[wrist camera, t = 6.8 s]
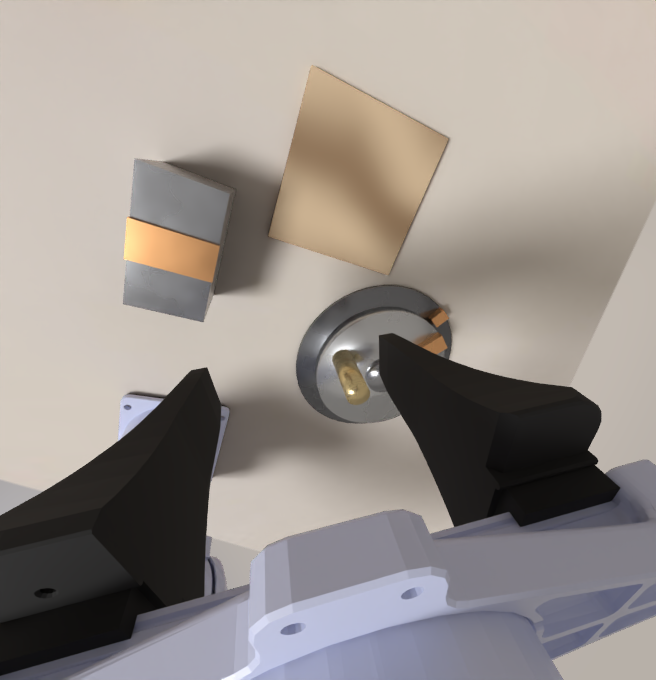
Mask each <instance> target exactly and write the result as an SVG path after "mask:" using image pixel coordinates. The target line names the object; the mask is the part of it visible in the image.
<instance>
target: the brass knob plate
mask: <svg viewBox="0 0 656 680" xmlns="http://www.w3.org/2000/svg"><path fill="white" fill-rule="evenodd" d="M389 333H394V334H396V335H398V336H401V337H402V338H404V339H406V340H408V341H410V342H412V343H414V344H416V345H418V346H420V347H422V348H424V349H426V350H428V351H430V352H432V353H435V354H437V355H439V356H441V357H444V350H445V349H447V345H446V343H445V341H444V339H443V336H442V335H441V334H440V333H439V332H437V331H436V330H435V328H434V327H433V326H432V325H431V324H429V323H428V322H427V321H426V320H425V319H424V318H423V317H421V316H420V315H418V314H417V313H415V312H413V311H411V310H408V309H405V308H401V307H392V306H389V307H377V308H372V309H369V310H365V311H363V312H360V313H358V314H356V315H354V316H352V317H350V318H348V319H347V320H345V321H344V322H343V323H341V324H340V325H339V326H338V327H337V328H336V329H334V330H333V331H332V333H331V334H330V335H329V336H328V337H327V339H326V340H325V342H324V343H323V345H322V347H321V349H320V351H319V353H318V356H317V359H316V364H315V379H316V383H317V387H318V391H319V394H320V397H321V399H322V401H323V402H324V404H325V405H326V407H327V408H328V409H329V410H330V411H331V412H333V413H334V414H336V415H337V416H339V417H341V418H343V419H346V420H349V421H353V422H358V423H374V422H381V421H386V420H389V419H392V418H395V417H397V416H400V415H401V414H400V412H399V411H398V409H397V407H396V406H395V404H394V403H393V401H392V399H391V398H390V396H389V394H388V393H387V390H386V388H385V386H384V384H383V381H382V379H381V377H380V374H379V335H383V334H389Z"/></svg>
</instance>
